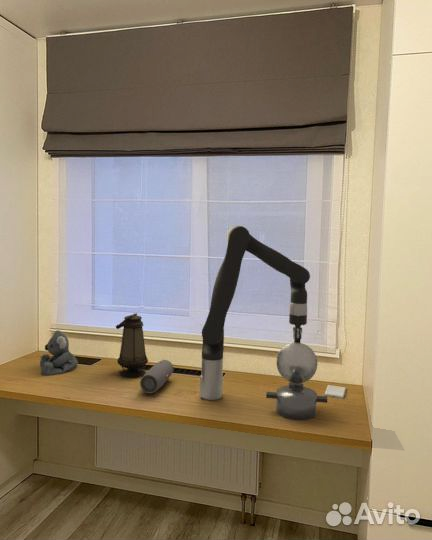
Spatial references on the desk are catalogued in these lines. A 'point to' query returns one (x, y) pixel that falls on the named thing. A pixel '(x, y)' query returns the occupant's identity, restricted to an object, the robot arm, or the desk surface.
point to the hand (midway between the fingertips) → (296, 352)
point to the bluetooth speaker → (156, 376)
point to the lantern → (132, 347)
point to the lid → (296, 363)
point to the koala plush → (57, 356)
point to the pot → (296, 402)
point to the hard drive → (335, 391)
